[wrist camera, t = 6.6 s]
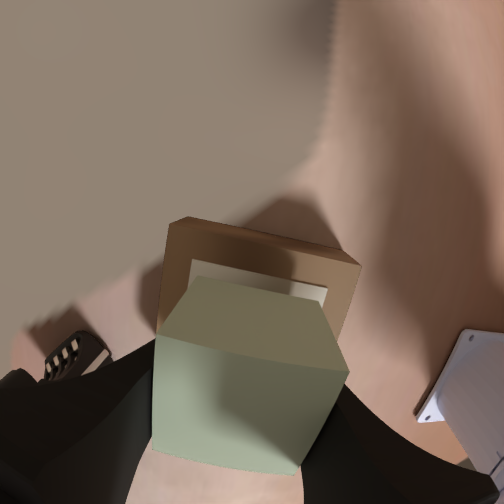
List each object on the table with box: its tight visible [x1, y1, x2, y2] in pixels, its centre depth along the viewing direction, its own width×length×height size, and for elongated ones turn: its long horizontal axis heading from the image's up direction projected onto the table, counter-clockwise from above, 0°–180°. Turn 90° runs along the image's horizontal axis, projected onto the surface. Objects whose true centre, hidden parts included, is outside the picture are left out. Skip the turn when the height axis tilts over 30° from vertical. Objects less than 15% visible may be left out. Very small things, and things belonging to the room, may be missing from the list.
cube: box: [152, 275, 350, 476], centre depth 9 cm, size 4×4×4 cm
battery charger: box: [0, 330, 113, 388], centre depth 11 cm, size 7×4×11 cm, turn 126°
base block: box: [156, 217, 362, 341], centre depth 14 cm, size 8×8×3 cm
